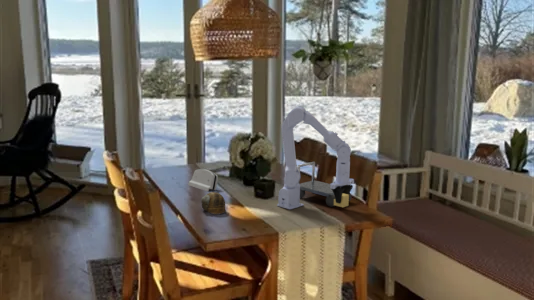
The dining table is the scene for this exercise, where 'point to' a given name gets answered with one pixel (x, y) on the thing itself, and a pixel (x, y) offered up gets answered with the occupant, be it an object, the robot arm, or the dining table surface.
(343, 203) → the yellow cube-like block
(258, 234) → the dining table surface
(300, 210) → the dining table surface
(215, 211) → the seashell
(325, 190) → the trolley
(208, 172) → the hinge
